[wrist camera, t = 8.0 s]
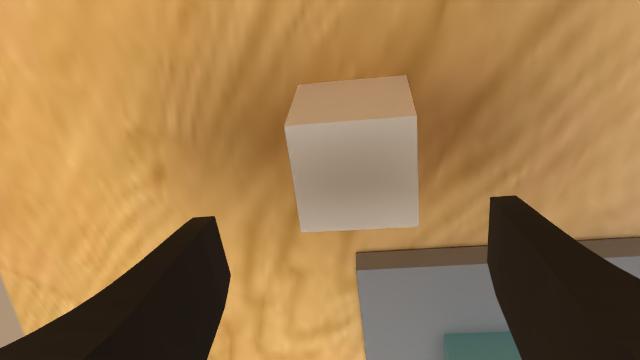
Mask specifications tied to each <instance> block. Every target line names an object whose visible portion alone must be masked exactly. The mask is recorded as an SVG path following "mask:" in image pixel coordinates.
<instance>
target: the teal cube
mask: <svg viewBox="0 0 640 360" xmlns="http://www.w3.org/2000/svg"><path fill="white" fill-rule="evenodd" d="M444 360H522V359H521V356H520V354H519V351H518V349H517V347H516V344H515V342H514V339H513V337H512V334H511V332H483V333H454V334H444Z"/></svg>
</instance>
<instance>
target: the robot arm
mask: <svg viewBox="0 0 640 360" xmlns="http://www.w3.org/2000/svg"><path fill="white" fill-rule="evenodd" d="M487 264H488V268H489V272H490V276H491V280H492V284H493V287H494V291H495V295H496V297H497V300H498V303H499V305H500V308H501V310H502V313H503V315H504V317H505V320H506V322H507V325H508V327H509V330H510V332H511V334H512V337H513V339H514V342H515V344H516V347H517V349H518V351H519V354H520V356H521V359H522V360H640V279H639V278H637V277H635V276H634V275H632V274H630V273H628V272H626V271H624V270H622V269H621V268H619V267H617V266H615V265H614V264H612V263H610V262H609V261H607V260H605V259H604V258H602V257H601V256H599V255H598V254H596V253H594V252H593V251H591V250H590V249H588V248H586V247H585V246H583V245H582V244H581V243H579V242H578V241H576V240H575V239H573V238H572V237H570V236H569V235H568V234H566V233H565V232H563V231H562V230H561V229H559V228H558V227H557V226H555V225H554V224H553V223H551V222H550V221H549V220H547V219H546V218H545V217H543V216H542V215H541V214H539V213H538V212H537V211H535V210H534V209H533V208H532V207H530V206H529V205H528V204H526V203H525V202H524V201H522V200H521V199H520V198H518V197H517V196H502V197H490V214H489V233H488V251H487ZM230 277H231V274H230V270H229V267H228V263H227V259H226V256H225V252H224V249H223V245H222V241H221V238H220V234H219V230H218V227H217V223H216V219H215V216H210V217H196V218H192V219H191V220H189V221H188V222H186V223H185V224H184V225H183V226H182V227H180V228H179V229H178V230H177V231H176V232H174V233H173V234H172V235H171V236H170V237H168V238H167V239H166V240H165V241H164V242H163V243H161V244H160V245H159V246H158V247H157V248H156V249H154V250H153V251H152V252H151V253H150V254H148V255H147V256H146V257H145V258H144V259H142V260H141V261H140V262H139V263H137V264H136V265H135V266H134V267H132V268H131V269H130V270H128V271H127V272H126V273H125V274H123V275H122V276H121V277H119V278H118V279H117V280H115V281H114V282H113V283H112V284H110V285H109V286H107V287H106V288H105V289H103V290H102V291H100V292H99V293H97V294H96V295H95V296H93V297H91V298H90V299H88V300H87V301H85V302H84V303H82V304H81V305H79V306H78V307H76V308H74V309H73V310H71V311H70V312H68V313H66V314H64V315H63V316H61V317H59V318H57V319H55V320H54V321H52V322H50V323H48V324H47V325H45V326H43V327H41V328H39V329H38V330H36V331H34V332H32V333H30V334H28V335H26V336H24V337H22V338H20V339H18V340H16V341H14V342H12V343H10V344H8V345H6V346H4V347H2V348H0V360H207V358H208V355H209V352H210V349H211V346H212V343H213V341H214V338H215V335H216V332H217V329H218V326H219V323H220V320H221V317H222V314H223V311H224V308H225V303H226V299H227V294H228V288H229V283H230Z"/></svg>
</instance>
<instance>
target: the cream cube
mask: <svg viewBox="0 0 640 360" xmlns="http://www.w3.org/2000/svg"><path fill="white" fill-rule="evenodd" d="M284 129H285V135H286V142H287V148H288V154H289V160H290V166H291V172H292V178H293V184H294V190H295V196H296V203H297V209H298V215H299V221H300V227H301V233H307V232H326V231H346V230H365V229H384V228H404V227H419V198H418V147H417V114H416V110H415V107H414V103H413V99H412V95H411V91H410V87H409V84H408V80H407V76H406V75H398V76H387V77H376V78H365V79H353V80H342V81H331V82H320V83H309V84H298V87H297V90H296V93H295V95H294V98H293V101H292V104H291V107H290V110H289V113H288V116H287V119H286V122H285V125H284Z"/></svg>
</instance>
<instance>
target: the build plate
mask: <svg viewBox="0 0 640 360" xmlns="http://www.w3.org/2000/svg"><path fill="white" fill-rule="evenodd" d="M578 242H579V243H581V244H582V245H583V246H585V247H586V248H588V249H590V250H591V251H593V252H594V253H596V254H598V255H599V256H601V257H602V258H604V259H605V260H607V261H609V262H610V263H612V264H614V265H615V266H617V267H619V268H621V269H622V270H624V271H626V272H628V273H630V274H632V275H634V276H635V277H637V278H639V279H640V237H639V238H620V239H602V240H584V241H578ZM487 251H488V246H474V247H456V248H437V249H419V250H401V251H382V252H364V253H356V273H357V281H358V290H359V299H360V308H361V317H362V326H363V335H364V344H365V353H366V360H444V334H454V333H483V332H510V330H509V327H508V325H507V322H506V320H505V317H504V315H503V313H502V310H501V308H500V305H499V303H498V300H497V297H496V295H495V291H494V287H493V284H492V280H491V276H490V272H489V268H488V264H487Z"/></svg>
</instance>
